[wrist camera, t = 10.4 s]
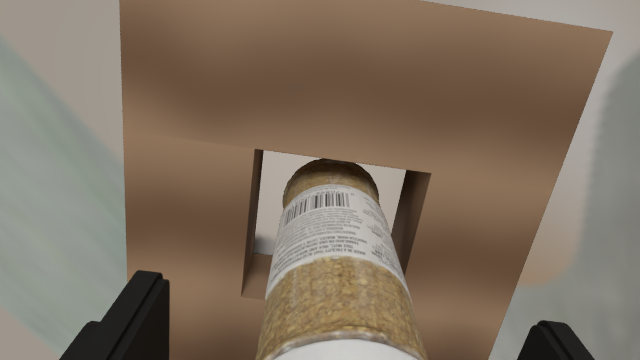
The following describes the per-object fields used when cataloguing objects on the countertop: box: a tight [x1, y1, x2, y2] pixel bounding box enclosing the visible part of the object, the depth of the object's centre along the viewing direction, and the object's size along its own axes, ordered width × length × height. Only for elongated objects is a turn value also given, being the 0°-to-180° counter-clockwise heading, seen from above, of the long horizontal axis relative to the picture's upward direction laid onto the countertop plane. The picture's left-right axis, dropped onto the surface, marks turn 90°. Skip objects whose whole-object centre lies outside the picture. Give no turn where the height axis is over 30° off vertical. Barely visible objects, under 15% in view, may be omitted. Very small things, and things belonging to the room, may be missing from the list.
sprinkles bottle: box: [256, 158, 428, 360], centre depth 13 cm, size 5×5×13 cm
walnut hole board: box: [119, 0, 613, 360], centre depth 18 cm, size 18×16×4 cm
